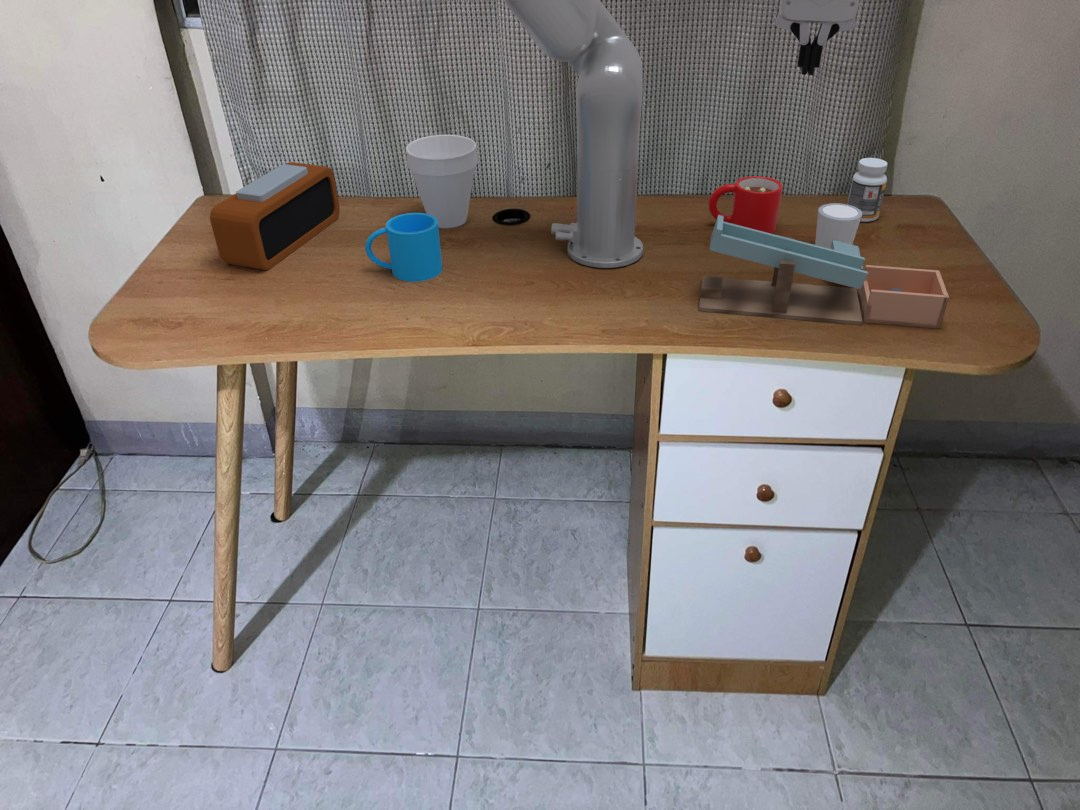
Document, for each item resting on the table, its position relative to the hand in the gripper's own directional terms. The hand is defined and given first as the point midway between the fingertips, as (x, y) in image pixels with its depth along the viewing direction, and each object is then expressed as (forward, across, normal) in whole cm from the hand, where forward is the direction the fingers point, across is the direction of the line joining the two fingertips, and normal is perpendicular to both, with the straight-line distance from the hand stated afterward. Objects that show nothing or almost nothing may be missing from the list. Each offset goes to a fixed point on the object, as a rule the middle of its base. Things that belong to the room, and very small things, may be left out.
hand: (807, 72), depth 119 cm
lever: (+23, 0, -11) cm, 25 cm away
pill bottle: (+29, +15, +19) cm, 38 cm away
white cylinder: (+29, +9, +4) cm, 31 cm away
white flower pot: (+29, -58, +5) cm, 65 cm away
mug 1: (+29, -59, -15) cm, 68 cm away
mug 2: (+29, -6, +11) cm, 32 cm away
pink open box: (+29, +17, -15) cm, 37 cm away
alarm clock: (+30, -84, -8) cm, 89 cm away
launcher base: (+29, 0, -15) cm, 33 cm away
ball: (+27, +16, -15) cm, 35 cm away
